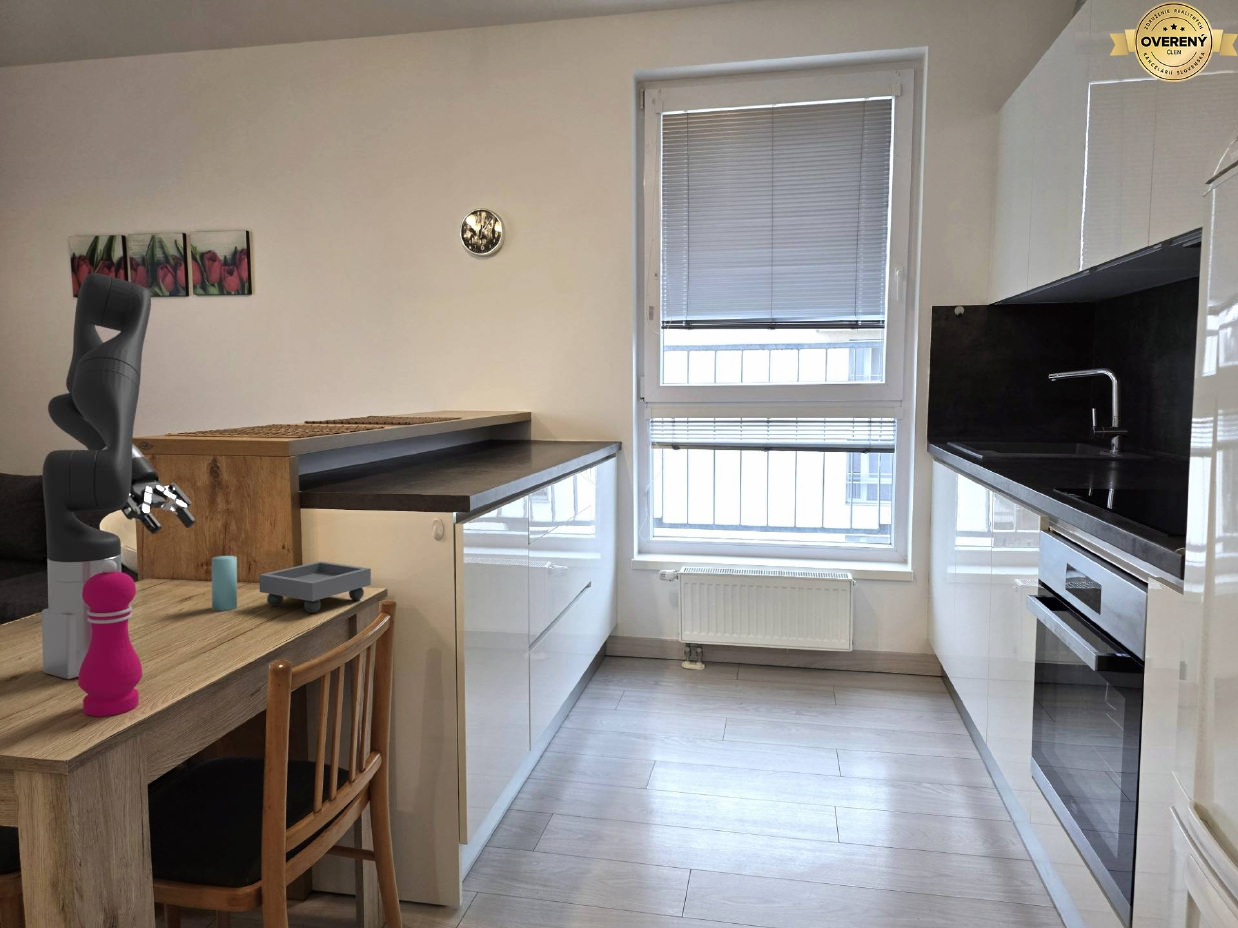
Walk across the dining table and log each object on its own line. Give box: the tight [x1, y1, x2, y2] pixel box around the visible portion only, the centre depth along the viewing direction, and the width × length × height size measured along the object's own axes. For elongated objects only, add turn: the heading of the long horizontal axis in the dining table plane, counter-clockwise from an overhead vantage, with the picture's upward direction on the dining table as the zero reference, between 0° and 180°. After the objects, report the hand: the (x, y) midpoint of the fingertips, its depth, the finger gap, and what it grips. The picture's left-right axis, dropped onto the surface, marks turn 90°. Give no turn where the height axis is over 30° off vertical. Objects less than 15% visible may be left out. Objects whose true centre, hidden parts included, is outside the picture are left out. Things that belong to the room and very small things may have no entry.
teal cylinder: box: [211, 555, 238, 612], centre depth 156 cm, size 4×4×10 cm
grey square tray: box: [259, 560, 372, 614], centre depth 163 cm, size 16×14×6 cm
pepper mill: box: [77, 560, 143, 717], centre depth 106 cm, size 7×7×20 cm
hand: (175, 528), depth 158 cm, fingers open, 8 cm apart
